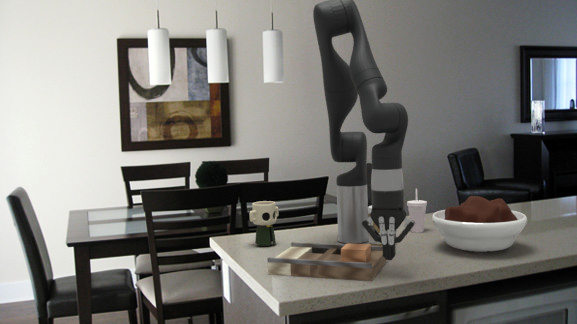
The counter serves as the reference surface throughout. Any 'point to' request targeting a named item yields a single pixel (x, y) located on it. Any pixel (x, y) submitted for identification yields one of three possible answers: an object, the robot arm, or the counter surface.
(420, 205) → the smoothie
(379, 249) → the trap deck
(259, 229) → the character mug
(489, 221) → the chocolate pudding bowl
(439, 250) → the counter surface
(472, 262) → the counter surface
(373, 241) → the sprinkles bottle
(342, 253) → the terracotta block
